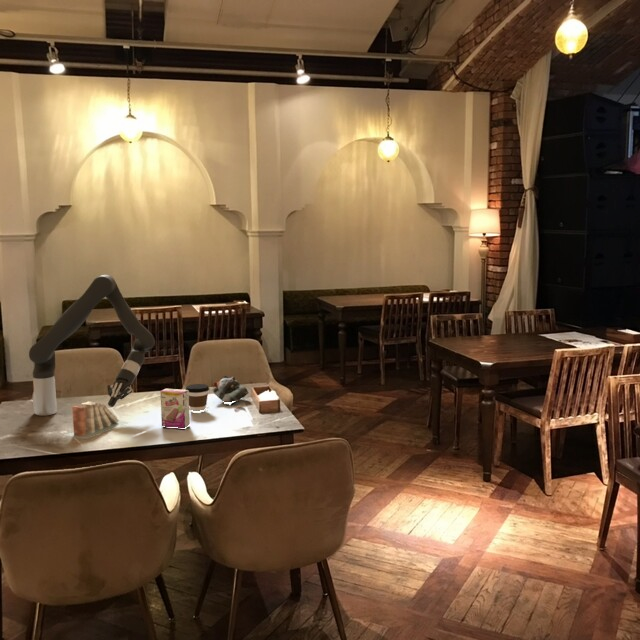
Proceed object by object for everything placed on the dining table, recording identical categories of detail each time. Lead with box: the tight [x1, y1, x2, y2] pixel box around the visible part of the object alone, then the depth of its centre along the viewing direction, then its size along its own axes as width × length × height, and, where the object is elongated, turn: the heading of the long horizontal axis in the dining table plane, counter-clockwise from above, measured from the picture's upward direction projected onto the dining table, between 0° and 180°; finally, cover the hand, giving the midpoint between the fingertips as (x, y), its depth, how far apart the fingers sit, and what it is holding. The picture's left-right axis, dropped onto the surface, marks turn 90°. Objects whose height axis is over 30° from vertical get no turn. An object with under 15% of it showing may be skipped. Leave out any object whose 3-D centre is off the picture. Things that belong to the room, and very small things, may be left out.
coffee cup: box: [184, 383, 210, 411], centre depth 325 cm, size 11×11×12 cm
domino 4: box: [96, 402, 111, 427], centre depth 300 cm, size 5×2×12 cm
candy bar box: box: [160, 388, 191, 428], centre depth 301 cm, size 11×5×16 cm, turn 74°
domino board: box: [63, 420, 130, 440], centre depth 299 cm, size 12×26×1 cm, turn 153°
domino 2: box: [80, 402, 95, 433], centre depth 294 cm, size 5×2×12 cm, turn 64°
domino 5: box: [101, 404, 120, 423], centre depth 303 cm, size 5×2×12 cm
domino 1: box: [71, 405, 86, 436], centre depth 289 cm, size 5×2×12 cm, turn 63°
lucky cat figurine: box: [212, 375, 249, 402], centre depth 342 cm, size 15×12×14 cm
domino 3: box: [85, 401, 103, 430], centre depth 297 cm, size 5×2×12 cm, turn 63°
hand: (110, 406), depth 305 cm, fingers closed
